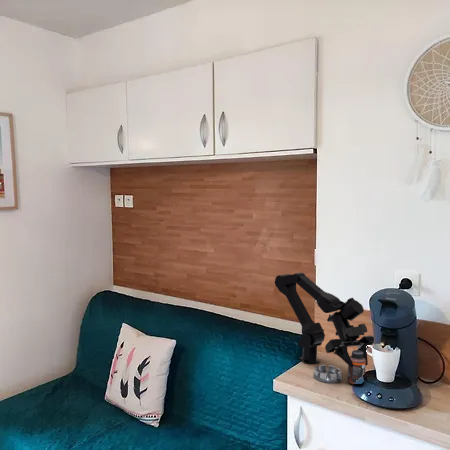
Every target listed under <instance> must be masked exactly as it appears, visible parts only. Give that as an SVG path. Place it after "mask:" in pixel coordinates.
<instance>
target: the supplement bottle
mask: <svg viewBox="0 0 450 450" xmlns="http://www.w3.org/2000/svg"><path fill="white" fill-rule="evenodd" d="M349 356H350V359H351V361H352V364H353V367H350V366H349V365H348V364H347V366H348V367H347V368H348V369H347V381H348V382H349V383H350V384H352V385H354V383H355V382H356V380H358V379H359V378H360V377H362V376H363V375H364V374H365V375H366V366H367V365H366V360H365V358H364V357H363V352H362V351H359V350H358V349H357V350H356V349H355V350H352V351H351V355H349Z"/></svg>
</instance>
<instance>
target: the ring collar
mask: <svg viewBox="0 0 450 450" xmlns="http://www.w3.org/2000/svg"><path fill="white" fill-rule="evenodd" d="M313 369H314V371H313V378H314V380H316V381H318V382H320V383H324V384H339V383H341V382H342V380H343V375H342V369H341V368H339V367H336V366H335V365H331V364H328V367H327V364H319V365H316V366H315V367H314V368H313Z"/></svg>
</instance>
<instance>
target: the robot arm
mask: <svg viewBox="0 0 450 450" xmlns="http://www.w3.org/2000/svg"><path fill="white" fill-rule="evenodd" d="M274 285H275V287H276V289H277V290H278V291H279V292H280V293H281V294H282V295H284V296H285V297H286V299H287V301H288V303H289V305H290V307H291V310H292V311H293V313H294V314H295V316H296V318H297V320H298V322H299V323H300V326H301V336H302V337H301V338H300V339H299V340H298V341H297V342H298V343H297V344H298V347H299V348H302V356H299V357H298V358H299V360H301V361H302V363H304V364H306V365H307V364H320V363H321V361H320V360H319V359H318V356H317V355H318V347H319V346H322V344H323V342H324V340H325V337H326V335H325V330H324V328H323V327H322V325H321V323H320V322H315V321H313V319H312V318H311V315H310V314H309V311H308V310H307V308H306V306H305V305H304V302H303V301H302V299H301V297H300V295H299V294H298V292H297V285H298V286H299V287H300V288H301V289H302V290H303V291H305V292H306V293H307V294H308V295H309V296H311V297H312V298H313V299H314V300H315V301H316V304H317V306H318V307H319V309H320V310H321V311H322V312H323V313H325V314H328V317H327V319H326V321H327V322H330V323H331V322H332V324H333V326H334V328H335V331H336V332H335V333H334V334H335V336H338V338H333V339H329V341H328V342H327V343H326V344H325V346H324V349H325V351H326V354H330V353H333V355H336V356H338V357H339V358H340V359H341V360H342V361H344V362H345V363H346V365H347V366H348V365H349V366H350V367H353V364H352V361H351V359H350V356H351V355H350V354H349V351H348V348H349V347H357V350H359V351H362V352H363V357H364V358H365V360H366V366H368V364H369V363H368V349H369V348H370V347H368V346H367V345H371V346H373V344H375V343H374V339H375V337H374V336H373V335H365V333H367V332H368V328H367V327H368V326H366V323H359V324H358V325H357V326H354V325H353V324H352V325H351V323H350V321H351V322H352V321H354V320H355V319H356V318H357V317H359V316H360V315H362V314H363V313H364V310H365V309H364V306H363V304H362V303H360V302H359V301H358V300H355V298H354V297H350V298H348V299H347V300H346V301H345V302H344V301H342V300H341V299H340V298H339V297H337V296H336V295H335V294H332V293H329V292H326V291H325V290H323V288H321V287H320V286H318V285H317V284H316V283H315V282H314V281H312V280H311V279H310V278H309V277H307V276H306V274H305V273H304V272H296V273H295V272H294V274H290V273H285V274H280V275H277V276H276V277H275V279H274ZM330 313H331V314H330ZM332 313H333V314H332ZM360 336H362V337H361V338H360ZM359 338H360V339H359ZM366 346H367V348H366ZM366 350H367V352H366Z"/></svg>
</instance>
